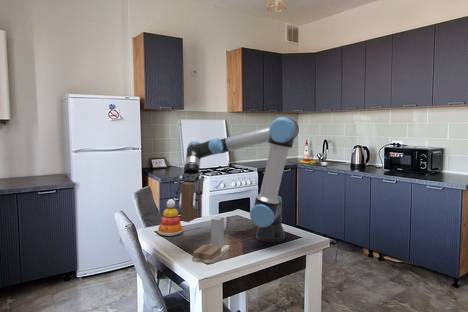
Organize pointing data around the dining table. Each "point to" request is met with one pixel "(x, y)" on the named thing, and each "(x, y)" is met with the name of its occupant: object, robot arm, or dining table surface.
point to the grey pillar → (217, 231)
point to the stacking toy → (170, 221)
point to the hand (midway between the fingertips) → (187, 206)
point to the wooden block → (187, 202)
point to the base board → (223, 249)
